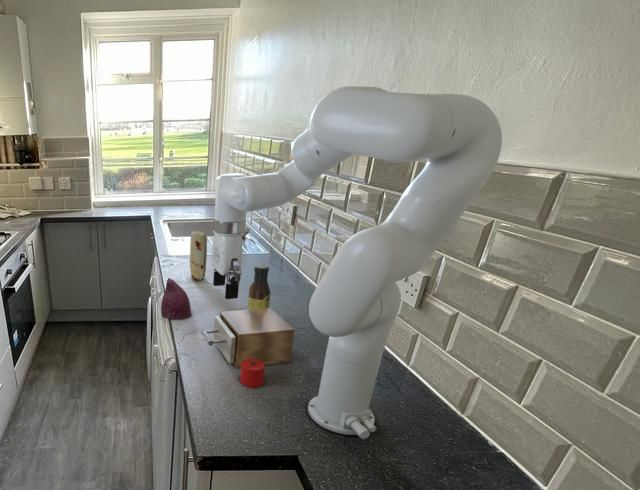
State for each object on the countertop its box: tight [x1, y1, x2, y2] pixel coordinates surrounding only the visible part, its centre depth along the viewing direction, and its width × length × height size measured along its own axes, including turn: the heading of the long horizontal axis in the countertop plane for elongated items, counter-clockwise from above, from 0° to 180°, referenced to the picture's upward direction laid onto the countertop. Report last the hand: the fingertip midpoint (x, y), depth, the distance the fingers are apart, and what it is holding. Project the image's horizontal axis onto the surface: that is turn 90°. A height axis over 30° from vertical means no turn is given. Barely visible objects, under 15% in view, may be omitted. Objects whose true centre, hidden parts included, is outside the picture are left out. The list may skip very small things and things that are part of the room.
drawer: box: [200, 315, 238, 365], centre depth 109 cm, size 18×14×8 cm
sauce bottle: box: [247, 264, 271, 309], centre depth 121 cm, size 6×6×20 cm
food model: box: [189, 230, 208, 281], centre depth 166 cm, size 10×7×20 cm
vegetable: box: [160, 277, 192, 320], centre depth 134 cm, size 10×10×15 cm
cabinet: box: [219, 306, 296, 368], centre depth 110 cm, size 15×15×10 cm
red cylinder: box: [239, 359, 266, 388], centre depth 98 cm, size 5×5×6 cm
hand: (224, 291), depth 106 cm, fingers open, 9 cm apart
